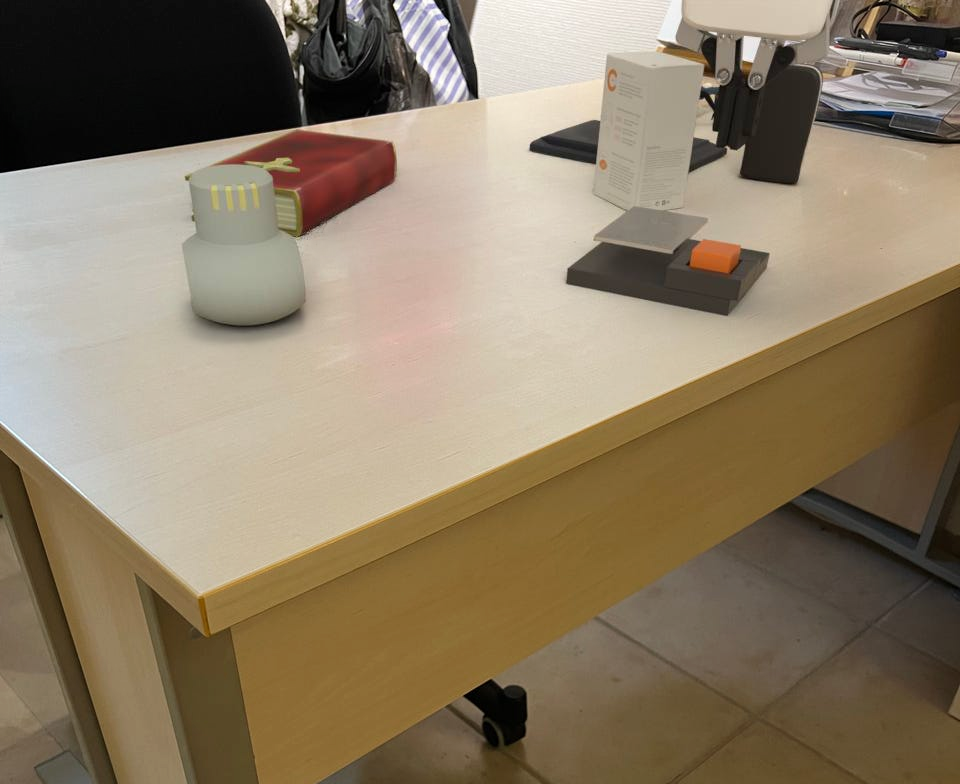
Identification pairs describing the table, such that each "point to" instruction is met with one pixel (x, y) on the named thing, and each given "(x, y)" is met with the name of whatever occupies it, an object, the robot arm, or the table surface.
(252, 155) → the hardcover book
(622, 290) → the scale
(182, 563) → the table surface
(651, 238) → the weighing plate
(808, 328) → the table surface
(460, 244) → the table surface
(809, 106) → the battery charger
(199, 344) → the table surface
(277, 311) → the air freshener
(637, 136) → the small box
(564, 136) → the wallet
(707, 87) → the person figurine
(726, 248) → the button
